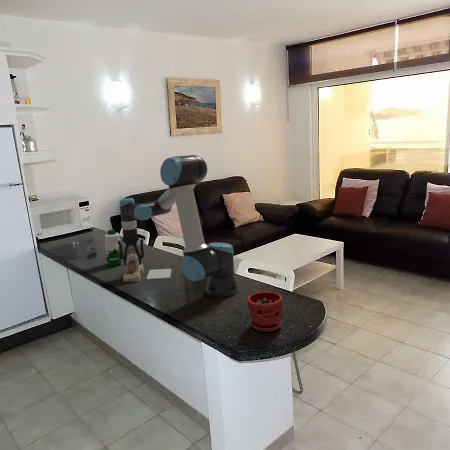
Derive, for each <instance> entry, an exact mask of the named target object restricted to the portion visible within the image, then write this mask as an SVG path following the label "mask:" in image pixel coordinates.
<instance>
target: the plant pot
mask: <svg viewBox="0 0 450 450" xmlns="http://www.w3.org/2000/svg"><path fill="white" fill-rule="evenodd" d="M247 297H248V298H247V309H248V315H249V316H250V319H251V321H250V325H251V327H252V328H254V329H255V330H257V331H258V330H259V332H266V333H267V332H269V333H270V332H273V331H276V330H279V328H280V327H281V325H282V323H283V322H282V320H281V317H282V313H283V297H282V294H280V293H277V292H273V291H257V292H254V293H252V294H250V295H249V296H247ZM264 299H266V300H264ZM258 301H260V302H261V303H258ZM270 301H271V302H270Z"/></svg>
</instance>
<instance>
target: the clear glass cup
mask: <svg viewBox="0 0 450 450" xmlns="http://www.w3.org/2000/svg"><path fill="white" fill-rule="evenodd" d="M137 258H138V256H137V254H135V253H134V254H130V255H128V256H127V264H128V263H134V267H135V270H138V265H137ZM127 268H128V267H127V266H126V269H127Z"/></svg>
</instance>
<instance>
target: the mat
mask: <svg viewBox="0 0 450 450" xmlns="http://www.w3.org/2000/svg"><path fill="white" fill-rule="evenodd" d="M171 274H172V268H162V269H149V271H148V274H147V276H146V280H147V281H149V280H150V281H151V280H166V279H167V280H168V279H171Z"/></svg>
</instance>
